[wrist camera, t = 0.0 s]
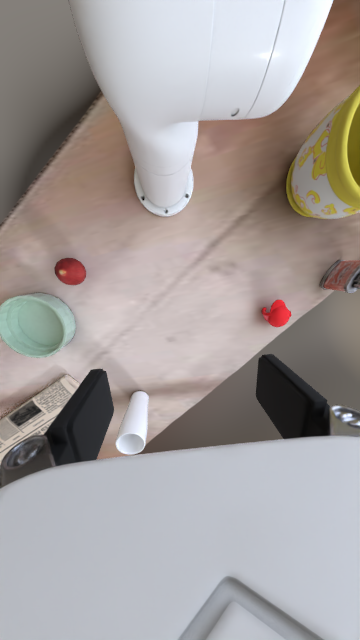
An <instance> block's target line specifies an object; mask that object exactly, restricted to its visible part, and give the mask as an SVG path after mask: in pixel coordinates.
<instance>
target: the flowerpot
mask: <svg viewBox="0 0 360 640" xmlns="http://www.w3.org/2000/svg"><path fill="white" fill-rule="evenodd" d="M286 191H287V197H288V200H289V202H290V204H291V206H292V208H293V209H294V210H295V211H296V212H297V213H299V214H301V215H303V216H306V217H315V218H320V219H336V218H342V217H346V216H350V215H353V214H356V213H359V212H360V86H359V87H358V88H357V89H356V90H355V91H354V92H353V93H352V94H351V95H350V96H349V97H347V98H346V99H345V100H343V101H342V102H341V103H340V104H339V105H337V106H336V107H335V108H334V109H333V110H332V111H331V112H330V113H328V114H327V115H326V116H325V117H324V118H323V119H322V120H321V121H320V123H319V124H318V125H317V126H316V127H315V128H314V129H313V131H312V132H311V133H310V135H309V136H308V137H307V139H306V140H305V142H304V144H303V145H302V147H301V149H300V151H299V153H298V155H297V157H296V158H295V159H294V161H293V163H292V165H291V167H290V169H289V172H288V176H287V182H286Z"/></svg>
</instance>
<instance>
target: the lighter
mask: <svg viewBox="0 0 360 640" xmlns="http://www.w3.org/2000/svg"><path fill="white" fill-rule="evenodd" d="M320 287H321V288H322V289H332V290H339V291H345V292H347V293H353V292H355V291H356V290H357V289H360V260H357V261H344V260H339V261H337V262H336V263H335V264H334V265H333V266H332V267H331V268H330V269H329V270H328V271H327V273H326V274H325V276H324V277H323V279H322V281H321V283H320Z"/></svg>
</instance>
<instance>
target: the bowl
mask: <svg viewBox="0 0 360 640" xmlns="http://www.w3.org/2000/svg"><path fill="white" fill-rule="evenodd" d="M75 330H76V325H75V319H74V317H73V314H72V312H71V311H70V309H69V308H68V307H67V305H66V304H64V303H63V302H62V301H61V300H59V299H58V298H56V297H54V296H52V295H49V294H44V293H30V294H25V295H20V296H16V297H13V298H10V299H8V300H6V301H5V302H4V303H3V304H2V305H1V306H0V336H1V338H2V339H3V341H4V342H5V343H6V344H7V345H8V346H9V347H10V348H11V349H13V350H14V351H16V352H17V353H20V354H22V355H25V356H28V357H34V358H42V357H48V356H51V355H53V354H55V353H56V352H58V351H59V350H60V349H62V348H63V347H64V346H66V345H67V344H68V343H69V342H70V341H71V340H72V338H73V337H74V334H75Z"/></svg>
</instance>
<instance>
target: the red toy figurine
mask: <svg viewBox="0 0 360 640" xmlns="http://www.w3.org/2000/svg"><path fill="white" fill-rule="evenodd" d="M262 314H263V316H264V318H265V320H267V321H268V322H269V324H270V325H272V326H274V327H280V326H283V325H285V324H286V323H287V322H288V320H289V317H291V312H290V311H289V310H288V309H287V308H286V306H285V303H284V302H283V301H282V300H276V301H275V302H274V303H273V304H272V306H271V310H270V313H266V308H265V307H264V308H262Z"/></svg>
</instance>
